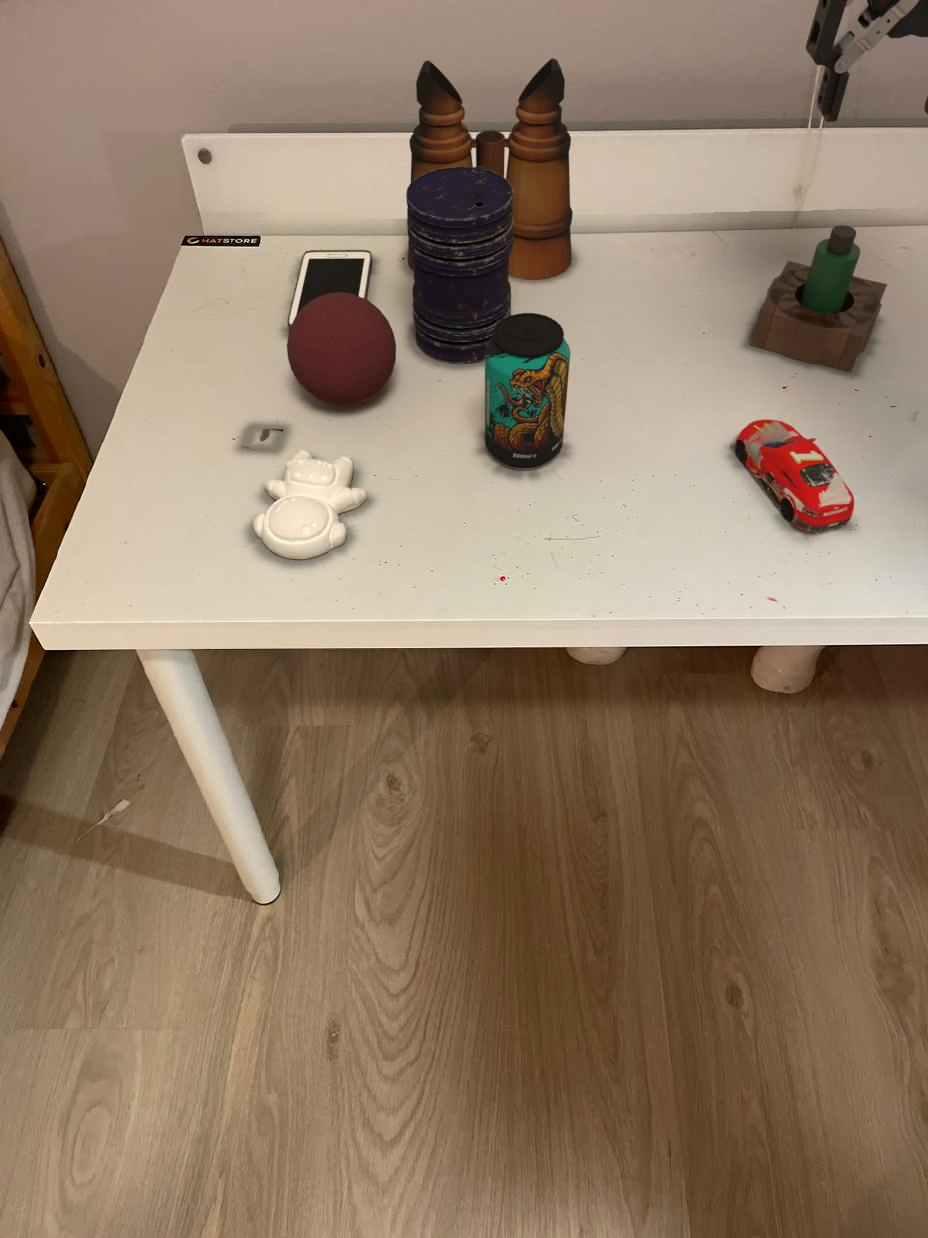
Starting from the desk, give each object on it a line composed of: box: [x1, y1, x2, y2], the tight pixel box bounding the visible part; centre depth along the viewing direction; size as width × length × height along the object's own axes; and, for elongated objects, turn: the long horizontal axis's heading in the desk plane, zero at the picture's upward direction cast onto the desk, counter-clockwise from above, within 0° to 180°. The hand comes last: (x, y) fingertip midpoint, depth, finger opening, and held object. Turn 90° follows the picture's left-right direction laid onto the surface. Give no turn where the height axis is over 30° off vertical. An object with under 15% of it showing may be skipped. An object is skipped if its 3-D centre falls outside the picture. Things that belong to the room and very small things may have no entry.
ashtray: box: [750, 260, 888, 373], centre depth 93 cm, size 11×11×4 cm
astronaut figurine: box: [252, 449, 367, 560], centre depth 79 cm, size 9×12×3 cm
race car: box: [734, 418, 855, 533], centre depth 79 cm, size 13×5×4 cm, turn 17°
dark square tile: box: [258, 428, 284, 442], centre depth 85 cm, size 3×3×1 cm
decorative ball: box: [286, 292, 397, 406], centre depth 86 cm, size 10×10×10 cm
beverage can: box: [484, 312, 571, 470], centre depth 80 cm, size 7×7×12 cm
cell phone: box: [287, 249, 373, 331], centre depth 100 cm, size 8×15×1 cm, turn 179°
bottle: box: [800, 224, 861, 314], centre depth 90 cm, size 4×4×11 cm
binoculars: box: [406, 57, 574, 280], centre depth 96 cm, size 18×8×20 cm, turn 90°
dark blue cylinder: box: [405, 166, 513, 365], centre depth 88 cm, size 10×10×18 cm
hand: (880, 116), depth 76 cm, fingers open, 8 cm apart
